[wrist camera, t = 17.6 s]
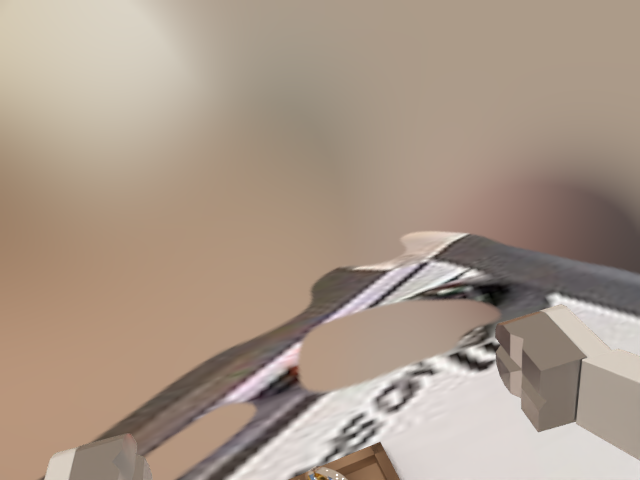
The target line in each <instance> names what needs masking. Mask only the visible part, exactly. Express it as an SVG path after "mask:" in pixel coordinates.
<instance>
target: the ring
mask: <svg viewBox="0 0 640 480" xmlns="http://www.w3.org/2000/svg"><path fill="white" fill-rule="evenodd" d="M299 480H300V479H299ZM305 480H347V479H346V478H345V477H344V476H343V475H342V474H340V473H338V472H336V471H334V470H331V469H329V468H325V467H322V466H315V467H314V468H312V469H311V470H309V471H307V472H306V473H305Z"/></svg>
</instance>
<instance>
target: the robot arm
mask: <svg viewBox="0 0 640 480" xmlns="http://www.w3.org/2000/svg"><path fill="white" fill-rule="evenodd" d="M495 338H496V339H497V340H498V342H499V343H500V344H501V345H500V347H499V348H498V350H497V351H496V364H497V367H498V371H499V374H500V377H501V379H502V381H503V383H504V385H505V386H506V388H507V389H508V390H509V392H510V393H511V394H513V395H515V396H517V397H520V398H521V409H522V410H523V412H524V413H525V415H526V416H527V417H528V419H529V420H530V422H531V423H532V424H533V426H534V427H535V428H536V430H537V431H538V432H541V431H544V430H548V429H551V428H555V427H559V426H562V425H566V424H569V423H573V422H576V424H577V425H579V426H581V427H583V428H584V429H586V430H588V431H590V432H591V433H593V434H595V435H597V436H598V437H600V438H602V439H603V440H605V441H607V442H609V443H610V444H612V445H614V446H616V447H617V448H619V449H621V450H623V451H624V452H626V453H628V454H629V455H631V456H633V457H635V458H636V459H638V460H640V356H638V355H635V354H632V353H629V352H627V351H624V350H621V349H616V350H611V349H610V348H609V347H608V346H607V345H606V344H605V343H604V342H603V341H602V340H601V339H600V338H599V337H598V336H597V335H595V334H594V333H593V332H592V331H591V330H590V329H589V328H588V327H587V326H586V325H585V324H584V323H583V322H582V321H581V320H580V319H579V318H578V317H577V316H576V315H575V314H574V313H573V312H571V311H570V310H569V309H568V308H567V307H566V306H564V305H561V304H560V305H557V306H554V307H551V308H547V309H544V310H541V311H539V312H534V313H531V314H528V315H524V316H521V317H518V318H515V319H511V320H508V321H505V322H502V323H498V324H497V326H496V329H495ZM136 450H137V443H136V442H135V440H134V438H133V437H132V435H131V434H123V435H119V436H115V437H112V438H108V439H104V440H100V441H97V442H93V443H89V444H86V445H82V446H79V447H76V448H73V449H69V450H65V451H62V452H58V453H55V454H54V455H53V457H52V458H51V459H50V461H49V465H48V468H47V472H46V476H45V479H44V480H153V479H152V474H151V471H150V468H149V465H148V463H147V461H146V459H145V458H144V457H142V456H139V455H137V454H136Z"/></svg>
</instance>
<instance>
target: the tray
mask: <svg viewBox="0 0 640 480" xmlns="http://www.w3.org/2000/svg"><path fill="white" fill-rule="evenodd" d="M322 467H325V468H329V469H331V470H334V471H336V472H338V473H340V474H342V475H343V476H344V477H345V478H346V479H347V480H400V479H399V477H398V475H397V473H396V471H395V469H394V468H393V466H392V464H391V462H390V460H389V458H388V456H387V454H386V452H385V450H384V448H383V447H382V445H381V443H380V442H379V443H376V444H374V445H372V446H369V447H367V448H364V449H362V450H359V451H357V452H355V453H352V454H350V455H347V456H345V457H342V458H340V459H338V460H335V461H333V462H330V463H328V464H325V465H323V466H322ZM299 479H300V480H305V473H303V474H301V475H299V476H296V477H294V478H291V479H289V480H299Z"/></svg>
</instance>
